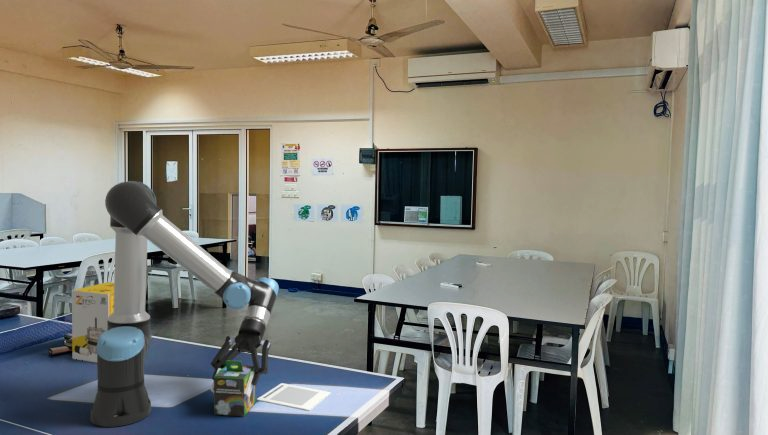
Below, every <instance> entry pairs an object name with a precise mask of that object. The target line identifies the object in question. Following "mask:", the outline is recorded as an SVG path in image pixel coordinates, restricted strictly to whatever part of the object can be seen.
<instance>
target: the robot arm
mask: <svg viewBox="0 0 768 435" xmlns="http://www.w3.org/2000/svg"><path fill="white" fill-rule="evenodd" d="M104 201H105V202H104V204H105V208H106V211H107V213H108V214H109V216H110V217H109V218H110V219H109V220H110V222H109V228H111V229H112V230H113V231H114V233H115V244H114V245H115V246H114V249H115V250H114V278H113V279H114V281H113V283H114V311H113V313H112V314H111V315H110V316H109V317H108V321H107V331H105V332H103V333H102V334H101V335H100V336H99V338H98V341H97V346H96V350H97V363H96V364H97V369H96V372H97V377H96V378H97V391H96V395H95V397H94V402H93V405H92V406H91V410H90V422H91V424H93V425H95V426H99V427H104V428H109V427H110V428H113V427H123V426H127V425H132V424H134V423H138V422H140V421H142V420H143V419H146V418H147V417H148V416H149V415H150V414H151V412H152V402H151V399H150V398H149V397H150V396H149V393H148V391H147V388H146V386H145V358H146V354H147V351H148V349H149V348H150V345H151V344H152V338H153V337H152V330H151V315H150V314H149V313H148V312H147V311H146V298H147V297H146V294H147V292H146V290H147V268H148V266H147V261H148V260H147V258H148V241H149V242H150V243H152V245H154V246H156V247H157V248H158V249H159V250H160V251H162V252H163V253H164V254H165V255H166V256H168V257H170V259H172V260H173V261H174V262H176V263H177V264H178V265H179V266H181V267H182V269H183V268H184V269H185V271H187V272H188V273H190V274H191V275H192V276H193V277H194V278H195V279H197V280H198V281H199V282H201V283H202V284H203V286H204V285H205V287H207V288H209V289H210V290H211V291H212V292H213V293H214V294H215V295H216V296H218V298H220V299H221V300H222V301H223V303H224V304H225V305H226V306H227V307H228V308H229V309H232V310H241V309H243V308H245V307H246V306H247V308H246V310H245V313H244V315H243V319H242V321H241V324H240V327H239V329H238V334H237V335H236V336H235V337H231V336H229V335H227V336H226V337H225V340H224V342H223V344H222V346H221V348H220V349H219V350H218V352H217V353H216V355H215V356H214V358H213V359H212V361H211V362H210V365H211V367H212V368H213V369H214V372H213V374H212V378H211V380H213V382H212V384H211V387H210V389H209V390H210V391H211V392H212V393H213V394H214V376H215V375H216V374H217V373H218V372H219V371H220V370H221V369H223V368H224V367H225V366H226V361H227V360H232V361H234V359H235V358H236V357H237V356H238V355H240V354H241V353H247V354H250V356H251V359H252V360H251V361H252V364H253V365H252V366H254V371H255V372H251V374H250V377H249V380H248V383H247V386H246V389H245V392H244V394H245V395H246V397H250V394H251V391H252V388H253V385H255V387H256V386H257V384H258V381H259V379H260V376H261V375H266V374H268V366H269V350H270V348H271V343H270V341H269V339H265V340H264V339H263V337H264V335H265V332H266V330H267V329H266V327H267V326H268V323H269V320H270V317H271V314H272V312H273V307H274V305H275V302H276V300H277V298H278V293H279V290H280V287H279V284H278V282H277V281H276V280H274V279H273V278H271V277H268V278H267V277H266V276H265V277H264V276H263V277H259V278H258V279H257V280H254V279H252V278H250V277H247V276H245V275H243V274H241V273H239V272H237V271H235V270H231V269H230V268H227V267H226V266H225V265H224V264H222V263H221V262H220V261H219V260H217V259H216V258H215V257H214V256H212V255H211V254H210V252H208V251H207V250H205V249H204V248H203V247H202V246H201V245H199V244H198V243H197V242H196V241H195V240H193V239H192V238H191V237H190V236H188V235H187V234H186V233H185V232H183V231H182V229H180V228H179V227H178V226H176V225H175V224H174V223H173V222H172V221H170V220H169V219H168V218H167V217H166V216H165V215H163V214H164V213H163V209H162V208H160V207H159V206H158V205H157V198H156V195H155V193H154V191H153V190H152V188H151V187H150V186H148V185H147V184H146V183H143V182H141V181H136V180H128V181H122V182H119V183H117V184H115V185H114V186H112V187H111V188H109V190H108V191H107V193H106V195H105V200H104ZM234 343H235V344H234ZM231 347H232V348H231ZM259 347H261V362H259V357H258V352H257V351H258V350H257V349H258V348H259Z"/></svg>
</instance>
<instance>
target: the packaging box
mask: <svg viewBox="0 0 768 435" xmlns="http://www.w3.org/2000/svg"><path fill="white" fill-rule="evenodd" d="M113 311H114V282H103V283H98V284H94V285H89V286H86V287H80V288H77V289H72V290H71V337H72V338H71V340H72V341H71V343H72V344H71V346H72V347H71V348H72V354H71V355H72V356H71V357H72V360H76V359H77V361H82V360H83V362H90V363H95V364H97V350H96V346H97V341H98V338H99V336H100V335H101V334H102V333H103V332H105V331H107V321H108V317H109V316H110V315H111V314H112V313H113Z"/></svg>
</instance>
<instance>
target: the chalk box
mask: <svg viewBox="0 0 768 435" xmlns="http://www.w3.org/2000/svg"><path fill="white" fill-rule="evenodd" d="M251 372H255V371H254V366H253V365H243V362H242V360H227V361H226V366H225V367H224V368H223V369H221V370H220V371H219V372H218V373H217V374H216V375H215V376H214V380H213V381H214V393H213V403H214V404H213V409H214V411H213V413H214V415H221V416H222V415H223V416H231V417H242V418H243V417H246V415H247V414H248V413H249V411H250V410H251V409H252V408H253V406H254V405H255V404H256V386H255V385H253V388H252V391H251V394H250V397H246V395H245V394H244V392H245V389H246V386H247V383H248V380H249V377H250V374H251Z"/></svg>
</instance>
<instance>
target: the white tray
mask: <svg viewBox="0 0 768 435" xmlns="http://www.w3.org/2000/svg"><path fill="white" fill-rule="evenodd" d="M330 395H332V392H331V391H325V390H322V389H321V390H320V389H315V388H310V387H305V386H299V385H294V384H290V383H285V382H284V383H283V382H281V383H279V384H278V385H276V386H275V387H273V388H272V389H269V391H267V392H266V393H264V394H262V395H261V396H259V397H258V398H256V401H259V402H265V403H269V404H275V405H279V406H283V407H289V408H294V409H299V410H303V411H308V412H310V411H311V410H312V409H314V408H315V407H317V405H319V404H320V403H321V402H323V400H326V398H327V397H329V396H330Z"/></svg>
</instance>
